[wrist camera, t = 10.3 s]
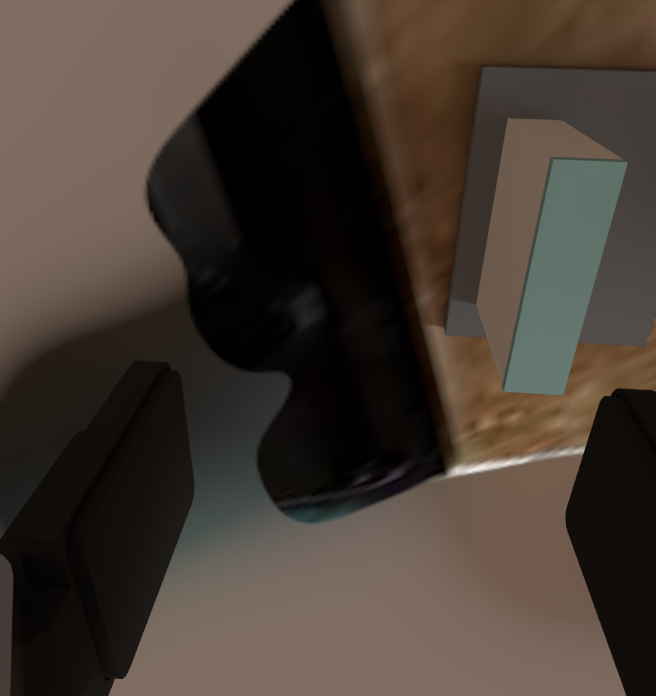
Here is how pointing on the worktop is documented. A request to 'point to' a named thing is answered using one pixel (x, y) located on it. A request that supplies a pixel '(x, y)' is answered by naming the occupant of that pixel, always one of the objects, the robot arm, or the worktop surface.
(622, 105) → the rubber mat
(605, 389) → the worktop surface
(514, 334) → the cream tile
